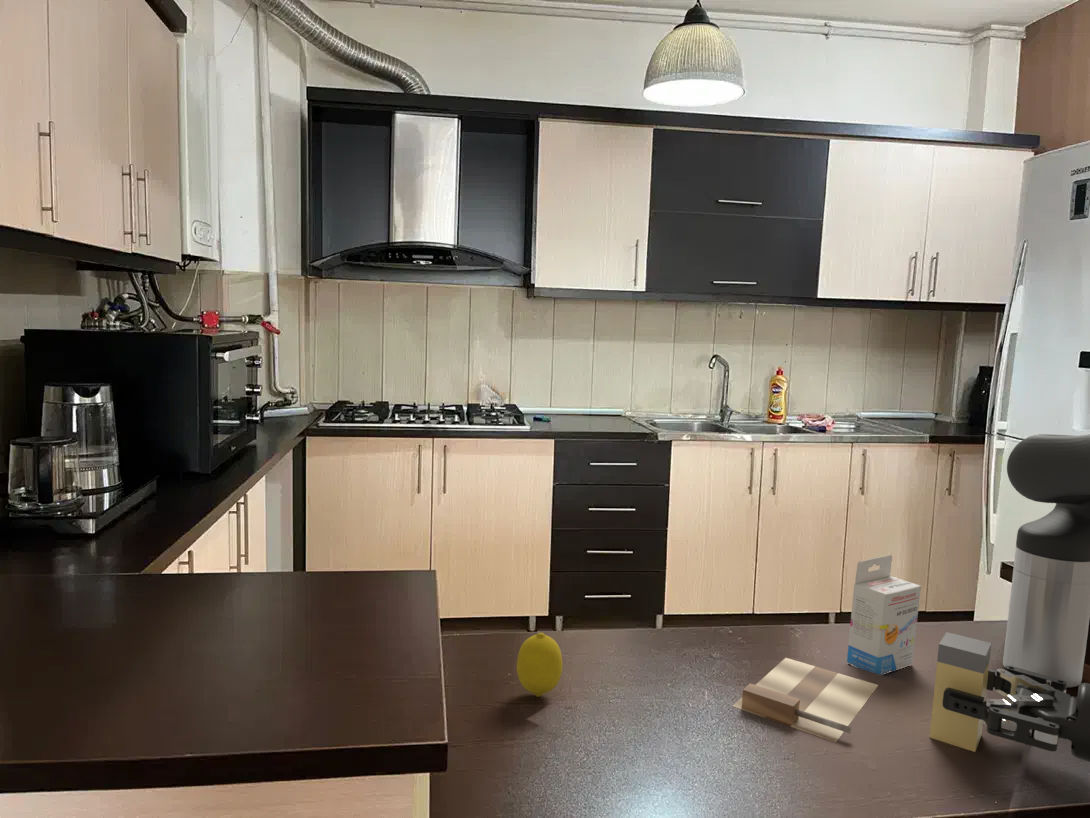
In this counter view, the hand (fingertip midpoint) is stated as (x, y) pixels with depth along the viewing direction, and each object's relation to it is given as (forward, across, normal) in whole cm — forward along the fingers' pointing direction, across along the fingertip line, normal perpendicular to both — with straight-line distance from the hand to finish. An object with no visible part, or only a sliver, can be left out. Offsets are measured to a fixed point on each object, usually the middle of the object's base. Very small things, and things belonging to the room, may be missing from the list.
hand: (950, 683), depth 86 cm
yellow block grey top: (-1, 0, +7) cm, 7 cm away
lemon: (+41, +22, +7) cm, 47 cm away
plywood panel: (+15, +1, +7) cm, 17 cm away
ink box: (+11, -17, +7) cm, 21 cm away
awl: (+15, +9, +6) cm, 18 cm away
